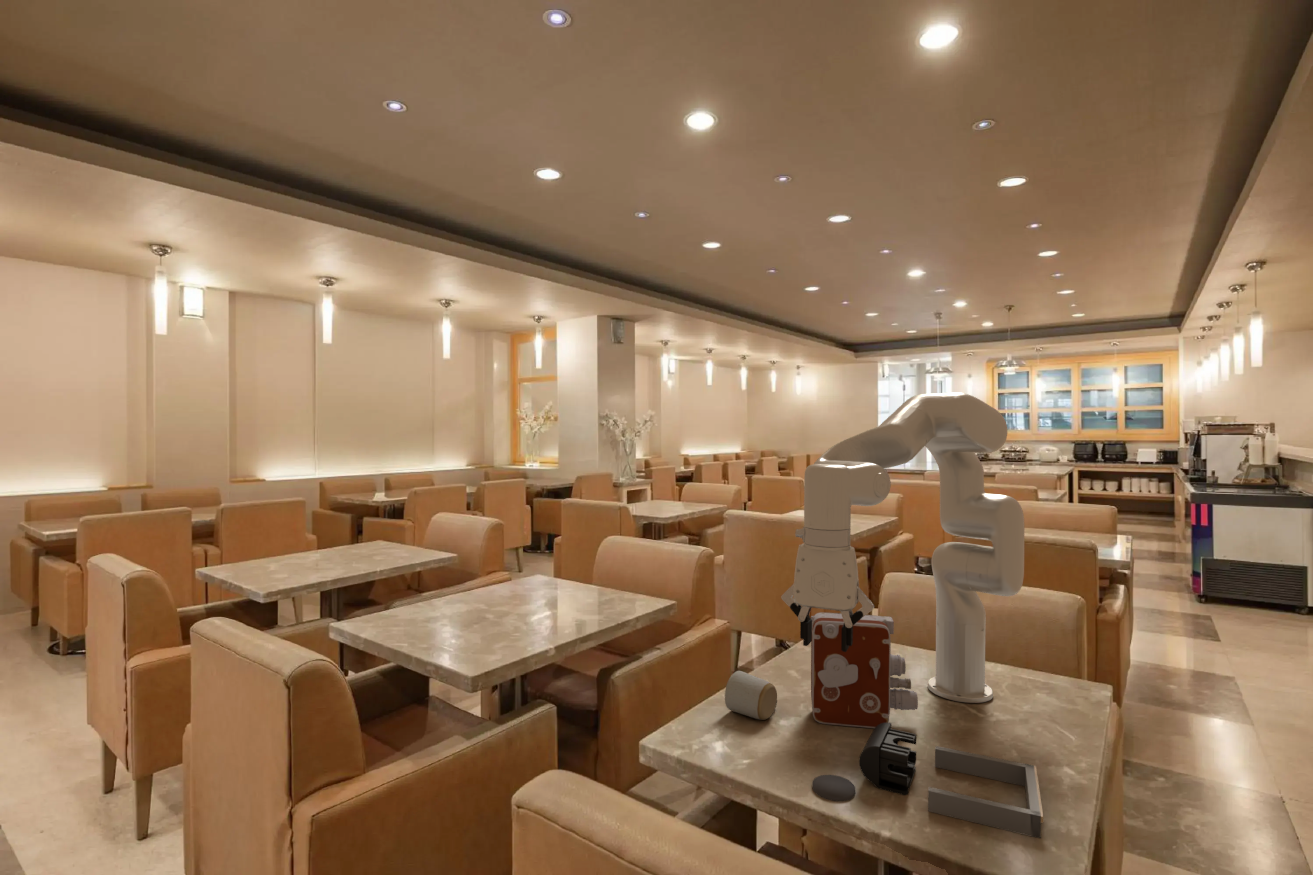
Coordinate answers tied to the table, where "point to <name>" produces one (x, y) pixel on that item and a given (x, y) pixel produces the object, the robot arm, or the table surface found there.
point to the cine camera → (856, 673)
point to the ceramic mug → (750, 695)
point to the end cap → (889, 759)
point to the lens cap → (833, 788)
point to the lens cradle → (986, 809)
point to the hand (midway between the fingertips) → (826, 645)
